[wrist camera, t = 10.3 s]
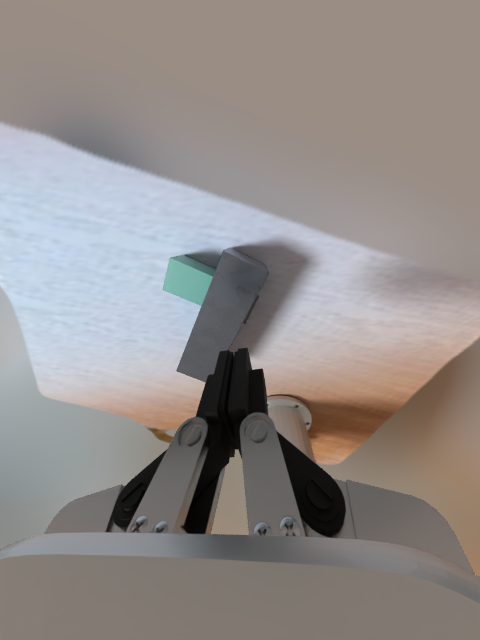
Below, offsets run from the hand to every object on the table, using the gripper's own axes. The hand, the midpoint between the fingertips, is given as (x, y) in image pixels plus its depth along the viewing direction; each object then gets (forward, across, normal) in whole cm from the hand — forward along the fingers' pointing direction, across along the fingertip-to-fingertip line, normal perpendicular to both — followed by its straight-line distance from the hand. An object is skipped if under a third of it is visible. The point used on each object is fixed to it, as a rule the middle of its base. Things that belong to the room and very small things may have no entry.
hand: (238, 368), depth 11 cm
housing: (+16, +4, +2) cm, 16 cm away
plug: (+16, +4, -2) cm, 16 cm away
